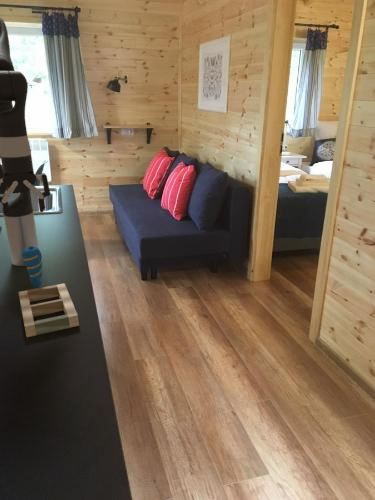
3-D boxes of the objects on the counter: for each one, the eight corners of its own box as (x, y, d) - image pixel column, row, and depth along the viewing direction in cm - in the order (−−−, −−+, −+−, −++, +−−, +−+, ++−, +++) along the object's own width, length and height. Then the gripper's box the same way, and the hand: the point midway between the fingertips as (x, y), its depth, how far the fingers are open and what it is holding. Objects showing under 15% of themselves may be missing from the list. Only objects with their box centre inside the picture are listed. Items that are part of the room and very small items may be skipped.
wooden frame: (20, 301, 118) (18, 291, 117) (65, 292, 123) (64, 283, 122) (26, 337, 101) (24, 326, 100) (79, 325, 106) (77, 315, 105)
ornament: (27, 295, 122) (19, 247, 116) (28, 287, 126) (21, 240, 121) (46, 293, 123) (39, 245, 117) (46, 285, 128) (39, 239, 122)
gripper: (42, 150, 116) (50, 207, 122) (-15, 154, 111) (-4, 213, 117) (45, 153, 110) (53, 213, 116) (-14, 158, 104) (-3, 220, 110)
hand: (25, 213), depth 116 cm, fingers open, 8 cm apart
